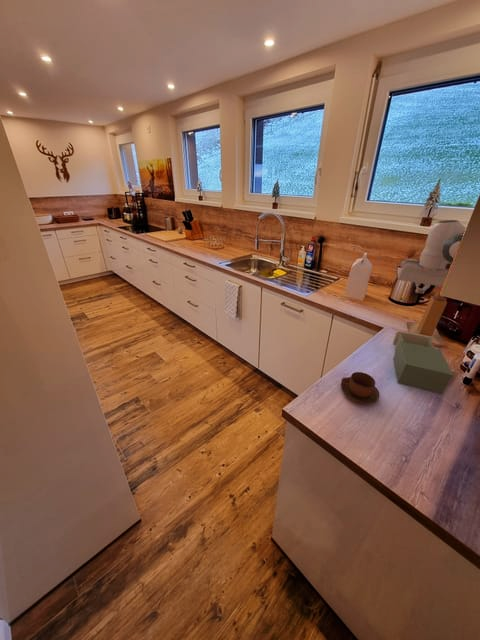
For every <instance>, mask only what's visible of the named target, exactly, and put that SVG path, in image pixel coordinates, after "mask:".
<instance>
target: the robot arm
mask: <svg viewBox="0 0 480 640" xmlns="http://www.w3.org/2000/svg"><path fill="white" fill-rule="evenodd" d="M466 228H467V227H465V226H464V225H463V224H462V223H461V222H460V221H459V220H457V219H445V220H439V221H436V222H435V223H434V224H433V225H432V227H431V228H430V231H429V232H428V234H427V237H426V240H425V245H424V246H425V247H424V248H423V250H422V251H421V254H420V257H419V259H411V258H406V259H404V260H402V261H401V263H400V269H399V271H398V273H397V279H398V281H402V282H408V283H414V285H415V287H416V289H415V294H423V295H424V294H425V292H426V291H427V290H428V289H429V288H431V286H435V287H443V283H444V280H445V278H446V276H447V273H448V270H449V268H450V265H451V263H452V261H453V258H454V256H455V254H456V252H457V249H458V246H459V244H460V241H461V239H462V237H463V234H464V232H465V229H466ZM421 284H423V285H424V287H422V288H421V287H419V286H421Z"/></svg>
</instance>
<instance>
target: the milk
mask: <svg viewBox="0 0 480 640" xmlns="http://www.w3.org/2000/svg"><path fill="white" fill-rule="evenodd" d="M367 256H368V252H364V253H363V255H362V257H361V258H357V259H356V260H355V261H354V262H353V263H352V265H351V267H350V270H349V274H348V277H347V281H346V285H345V289H344V292H343V295H342V297H343V298H348V299H352V300H358V301H361V302H362V301H364V300H365V298H366V295H367V290H368V287H369V282H370V277H371V273H372V269H373V265H372V263H371V261H370V260H369V259H368V258H367Z"/></svg>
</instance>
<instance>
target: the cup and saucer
mask: <svg viewBox="0 0 480 640" xmlns="http://www.w3.org/2000/svg"><path fill="white" fill-rule="evenodd" d="M340 389H341V391H342V392H343V394H344V395H345V396H346V397H347V398H349V399H350V400H352V401H354V402H357V403H359V404H365V405H366V404H367V405H370V404H375V403H376V402H377V401H378V400H379V399H380V395H381V394H380V392H379V389H378V388H377V387H376V380H375V379H374V377H373V376H371V375H370V374H368V373H365V372H362V371H354V372H353V373H351V375H350V376H349V377H346V376H345V377H343V378H341V381H340Z"/></svg>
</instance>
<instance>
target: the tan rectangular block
mask: <svg viewBox="0 0 480 640" xmlns="http://www.w3.org/2000/svg"><path fill="white" fill-rule="evenodd" d="M440 293H441V292H437V293H434V295H433V296H432V295H431V296H430V298H429V301H428V303H427V305H426V308H425V309H424V313H423V314H422V317H421V320H420V322H419V327H418V331H419V333H420V334H424V335H429V336H432V335H433V333H434V330H435V328H436V329H437V326H438V324H439V322H440V319H441V317H442V315H443V313H444V311H445V308H446V306H447V304H448V302H447V297H446V298H443V297H441V296H440Z"/></svg>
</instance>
